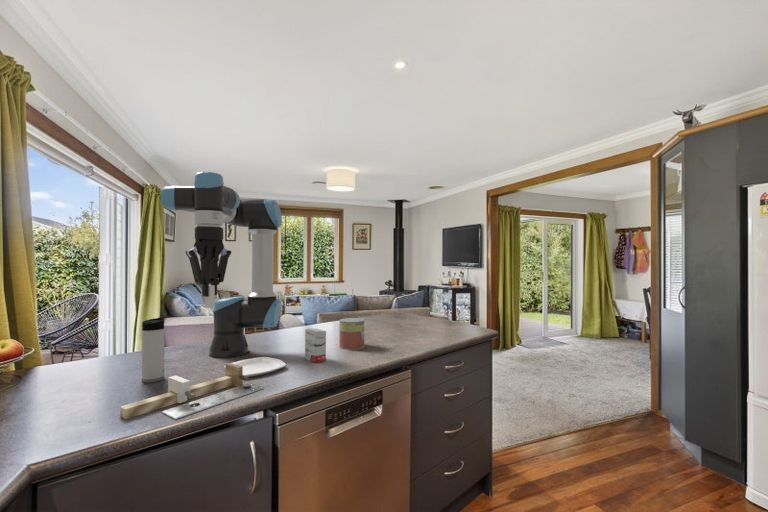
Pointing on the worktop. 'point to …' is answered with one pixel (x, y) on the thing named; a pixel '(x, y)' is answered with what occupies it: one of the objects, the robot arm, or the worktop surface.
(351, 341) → the canned food
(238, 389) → the hole plate
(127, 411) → the beam
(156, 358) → the travel mug
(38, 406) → the worktop surface
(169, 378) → the slider
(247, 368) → the plate
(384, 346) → the worktop surface
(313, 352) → the ink box
